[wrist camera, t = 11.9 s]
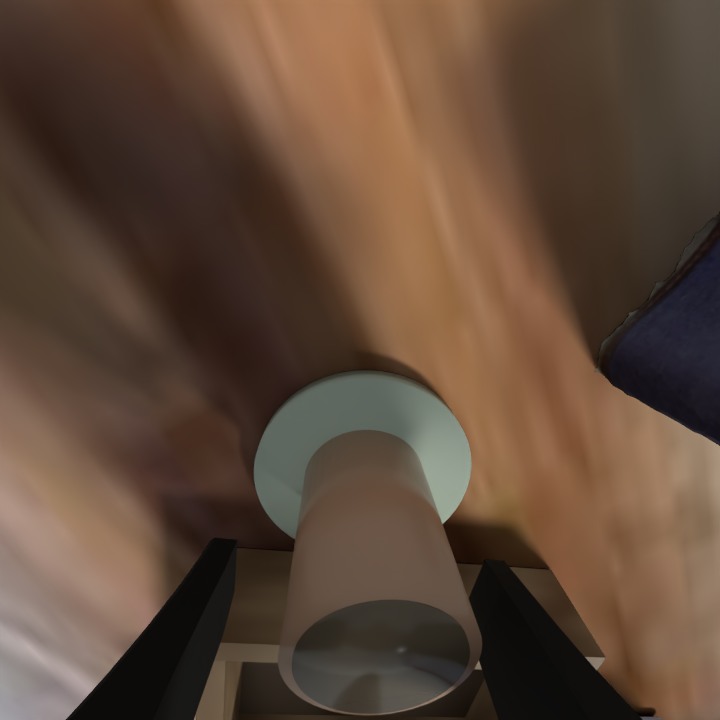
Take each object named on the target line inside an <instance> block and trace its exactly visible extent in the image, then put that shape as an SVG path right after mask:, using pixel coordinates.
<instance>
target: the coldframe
mask: <svg viewBox="0 0 720 720" xmlns="http://www.w3.org/2000/svg"><path fill="white" fill-rule="evenodd" d="M292 558H293V552H289V551H275V550H261V549H246V548H237V557H236V575H235V591H234V595H233V599H232V603H231V607H230V611H229V615H228V618H227V622H226V626H225V630H224V633H223V637H222V640H221V643H220V646H219V649H218V652H217V654H216V657H215V660H214V663H213V666H212V669H211V672H210V675H209V677H208V680H207V683H206V686H205V689H204V692H203V694H202V697H201V700H200V703H199V706H198V709H197V712H196V720H498V717H497V714H496V711H495V708H494V705H493V702H492V699H491V696H490V693H489V690H488V687H487V684H486V681H485V678H484V675H483V672H482V669H481V665H480V662H479V661H478V663H477V665H476V667H475V668H474V670H473V671H472V673H471V674H470V675H469V676H468V677H467V678H466V679H465V681H464V682H463V683H461V684H460V685H459V686H458V687H456V688H455V689H454V690H452V691H451V692H449V693H448V694H446V695H445V696H443V697H441V698H439V699H437V700H435V701H433V702H430V703H428V704H426V705H423V706H420V707H417V708H414V709H410V710H406V711H402V712H397V713H391V714H382V715H352V714H343V713H338V712H333V711H329V710H326V709H322V708H320V707H317V706H315V705H312V704H311V703H309V702H307V701H305V700H303V699H302V698H300V697H299V696H297V695H296V694H295V693H294V692H293V691H292V690H291V689H290V688H289V687H288V686H287V685H286V683H285V682H284V680H283V678H282V676H281V674H280V671H279V667H278V653H279V646H280V640H281V633H282V626H283V619H284V612H285V606H286V599H287V592H288V585H289V578H290V572H291V565H292ZM456 564H457V567H458V570H459V573H460V576H461V579H462V581H463V584H464V587H465V590H466V593H467V596H468V598H469V596H470V594H471V591H472V589H473V586H474V584H475V582H476V579H477V577H478V574H479V572H480V570H481V567H482V565H474V564H460V563H456ZM510 568H511V570H512V571H513V572H514V573H515V574H516V576H517V577H518V578H519V579H520V580H521V582H522V583H523V584H524V585H525V586H526V588H527V589H528V590H529V591H530V593H531V594H532V595H533V596H534V597H535V599H536V600H537V601H538V602H539V603H540V605H541V606H542V607H543V608H544V610H545V611H546V612H547V613H548V614H549V616H550V617H551V618H552V619H553V620H554V622H555V623H556V624H557V625H558V626H559V627H560V629H561V630H562V631H563V632H564V633H565V635H566V636H567V637H568V638H569V639H570V640H571V642H572V643H573V644H574V645H575V646H576V647H577V648H578V650H579V651H580V652H581V653H582V654H583V655H584V656H585V658H586V659H587V660H588V661H589V662H590V663H591V664H592V666H593V667H594V668H595V669H596V670H597V669H598V668H599V667H600V665H601V664H602V662H603V661H604V659H605V658H606V657H605V656H604V654H603V653H602V651H601V649H600V648H599V646H598V644H597V643H596V641H595V640H594V638H593V636H592V635H591V633H590V632H589V630H588V628H587V627H586V625H585V624H584V622H583V620H582V619H581V617H580V615H579V614H578V612H577V611H576V609H575V607H574V606H573V604H572V603H571V601H570V599H569V598H568V596H567V595H566V593H565V591H564V590H563V588H562V587H561V585H560V583H559V582H558V580H557V578H556V577H555V575H554V574H553V572H552V570H546V569H531V568H517V567H510Z"/></svg>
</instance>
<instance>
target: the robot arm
mask: <svg viewBox="0 0 720 720" xmlns="http://www.w3.org/2000/svg"><path fill="white" fill-rule="evenodd" d="M236 557H237V540H234V539H221V538H214V539H212V540H211V541H210V542H209V544H208V545H207V547H206V548H205V550H204V551H203V553H202V554H201V556H200V557H199V559H198V560H197V562H196V563H195V565H194V566H193V567H192V569H191V570H190V572H189V573H188V574H187V576H186V577H185V578H184V580H183V581H182V582H181V584H180V585H179V587H178V588H177V589H176V591H175V592H174V593H173V595H172V596H171V597H170V598H169V600H168V601H167V602H166V603H165V605H164V606H163V607H162V609H161V610H160V611H159V612H158V614H157V615H156V616H155V617H154V619H153V620H152V621H151V623H150V624H149V625H148V626H147V628H146V629H145V630H144V631H143V632H142V634H141V635H140V636H139V637H138V638H137V640H136V641H135V642H134V643H133V644H132V645H131V647H130V648H129V649H128V650H127V651H126V652H125V654H124V655H123V656H122V657H121V658H120V660H119V661H118V662H117V663H116V664H115V665H114V667H113V668H112V669H111V670H110V671H109V673H108V674H107V675H106V676H105V677H104V678H103V679H102V680H101V682H100V683H99V684H98V685H97V686H96V687H95V688H94V689H93V691H92V692H91V693H90V694H89V695H88V696H87V697H86V698H85V699H84V701H83V702H82V703H81V704H80V705H79V706H78V707H77V708H76V709H75V710H74V711H73V712H72V714H71V715H70V716H69V717H68V718H67V719H66V720H194V717H195V714H196V712H197V709H198V706H199V703H200V700H201V697H202V694H203V692H204V689H205V686H206V683H207V680H208V677H209V675H210V672H211V669H212V666H213V663H214V660H215V657H216V654H217V652H218V649H219V646H220V643H221V640H222V637H223V633H224V630H225V626H226V622H227V618H228V615H229V611H230V607H231V603H232V599H233V595H234V591H235V575H236ZM468 599H469V602H470V604H471V607H472V610H473V613H474V616H475V619H476V622H477V624H478V627H479V630H480V633H481V637H482V651H481V655H480V658H479V662H480V665H481V669H482V672H483V675H484V678H485V681H486V684H487V687H488V690H489V693H490V696H491V699H492V702H493V705H494V708H495V711H496V714H497V717H498V720H662V719H661V718H659V717H640V716H639V715H638V714H637V713H636V712H635V711H634V710H633V709H632V708H631V707H630V706H629V705H628V704H627V703H626V702H625V701H624V700H623V698H622V697H621V696H620V695H619V694H618V693H617V692H616V691H615V690H614V689H613V688H612V686H611V685H610V684H609V683H608V682H607V681H606V680H605V679H604V678H603V677H602V676H601V674H600V673H599V672H598V671H597V670H596V669H595V668H594V667H593V666H592V664H591V663H590V662H589V661H588V660H587V659H586V658H585V656H584V655H583V654H582V653H581V652H580V651H579V650H578V648H577V647H576V646H575V645H574V644H573V643H572V642H571V640H570V639H569V638H568V637H567V636H566V635H565V633H564V632H563V631H562V630H561V629H560V627H559V626H558V625H557V624H556V623H555V622H554V620H553V619H552V618H551V617H550V616H549V614H548V613H547V612H546V611H545V610H544V608H543V607H542V606H541V605H540V603H539V602H538V601H537V600H536V599H535V597H534V596H533V595H532V594H531V593H530V591H529V590H528V589H527V588H526V586H525V585H524V584H523V583H522V582H521V580H520V579H519V578H518V577H517V576H516V574H515V573H514V572H513V571H512V570H511V568H510V567H509V566H508V565H507V564H506V563H505V561H500V560H487V559H485V560H484V563H483V565H482V567H481V570H480V572H479V574H478V577H477V579H476V582H475V584H474V586H473V589H472V591H471V594H470V596H469V598H468Z"/></svg>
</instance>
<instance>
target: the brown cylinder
mask: <svg viewBox="0 0 720 720" xmlns="http://www.w3.org/2000/svg"><path fill="white" fill-rule="evenodd" d="M481 651H482V637H481V633H480V630H479V627H478V624H477V622H476V619H475V616H474V613H473V610H472V607H471V604H470V602H469V599H468V596H467V593H466V590H465V587H464V584H463V581H462V579H461V576H460V573H459V570H458V567H457V564H456V561H455V559H454V556H453V553H452V550H451V547H450V544H449V541H448V539H447V536H446V533H445V530H444V527H443V524H442V521H441V519H440V516H439V513H438V510H437V507H436V504H435V501H434V499H433V496H432V493H431V490H430V487H429V484H428V481H427V478H426V476H425V473H424V470H423V467H422V464H421V461H420V459H419V457H418V455H417V453H416V452H415V451H414V449H413V448H412V447H411V446H410V445H409V444H408V443H406V442H405V441H403V440H402V439H400V438H398V437H397V436H395V435H392V434H389V433H386V432H382V431H376V430H356V431H351V432H347V433H344V434H341V435H338V436H336V437H334V438H332V439H330V440H329V441H327V442H326V443H324V444H323V445H322V446H321V447H320V448H319V449H318V450H317V451H316V452H315V453H314V454H313V456H312V457H311V459H310V461H309V462H308V465H307V468H306V471H305V477H304V483H303V490H302V497H301V504H300V510H299V517H298V524H297V531H296V538H295V544H294V551H293V558H292V565H291V572H290V578H289V585H288V592H287V599H286V606H285V612H284V619H283V626H282V633H281V640H280V646H279V653H278V667H279V671H280V674H281V676H282V678H283V680H284V682H285V683H286V685H287V686H288V687H289V688H290V689H291V690H292V691H293V692H294V693H295V694H296V695H297V696H299V697H300V698H302V699H303V700H305V701H307V702H309V703H311V704H312V705H315V706H317V707H320V708H322V709H326V710H329V711H333V712H338V713H343V714H352V715H382V714H391V713H397V712H402V711H406V710H410V709H414V708H417V707H420V706H423V705H426V704H428V703H430V702H433V701H435V700H437V699H439V698H441V697H443V696H445V695H446V694H448V693H449V692H451V691H452V690H454V689H455V688H456V687H458V686H459V685H460V684H461V683H463V682H464V681H465V679H466V678H467V677H468V676H469V675H470V674H471V673H472V671H473V670H474V668H475V667H476V665H477V663H478V661H479V658H480V655H481Z"/></svg>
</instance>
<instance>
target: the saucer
mask: <svg viewBox="0 0 720 720" xmlns="http://www.w3.org/2000/svg"><path fill="white" fill-rule="evenodd" d="M356 430H376V431H382V432H386V433H389V434H392V435H395V436H397V437H398V438H400V439H402V440H403V441H405V442H406V443H408V444H409V445H410V446H411V447H412V448H413V449H414V451H415V452H416V453H417V455H418V457H419V459H420V461H421V464H422V467H423V470H424V473H425V476H426V478H427V481H428V484H429V487H430V490H431V493H432V496H433V499H434V501H435V504H436V507H437V510H438V513H439V516H440V519H441V521H442V524H443V523H444V522H445V521H446V520H447V519H448V518H449V517H450V516H451V515H452V514H453V512H454V511H455V510H456V509H457V507H458V505H459V504H460V502H461V500H462V499H463V497H464V494H465V492H466V490H467V487H468V483H469V480H470V474H471V453H470V448H469V443H468V441H467V438H466V435H465V433H464V431H463V429H462V427H461V426H460V424H459V422H458V421H457V419H456V417H455V416H454V414H453V413H452V411H451V409H450V408H449V407H448V406H447V405H446V403H445V402H444V401H443V400H442V399H441V398H440V397H439V396H438V395H436V394H435V393H434V392H433V391H432V390H430V389H429V388H427V387H426V386H424V385H423V384H421V383H419V382H416V381H414V380H412V379H410V378H407V377H404V376H401V375H398V374H395V373H389V372H384V371H374V370H357V371H348V372H342V373H337V374H333V375H330V376H327V377H323V378H321V379H319V380H317V381H314V382H312V383H310V384H308V385H306V386H305V387H303V388H301V389H300V390H298V391H297V392H295V393H294V394H293V395H292V396H290V397H289V398H288V399H287V400H286V401H285V402H284V403H283V404H282V405H281V406H280V407H279V408H278V409H277V410H276V412H275V413H274V415H273V416H272V417H271V419H270V421H269V423H268V425H267V426H266V428H265V430H264V433H263V436H262V438H261V441H260V443H259V447H258V450H257V453H256V456H255V463H254V482H255V487H256V492H257V495H258V497H259V500H260V503H261V504H262V506H263V508H264V510H265V512H266V513H267V514H268V516H269V517H270V518H271V520H272V521H273V522H274V523H275V524H276V525H277V526H278V527H279V528H280V529H281V530H282V531H284V532H285V533H286V534H287V535H289V536H290V537H292V538H293V539H295V538H296V531H297V524H298V517H299V510H300V504H301V497H302V490H303V483H304V477H305V471H306V468H307V465H308V462H309V461H310V459H311V457H312V456H313V454H314V453H315V452H316V451H317V450H318V449H319V448H320V447H321V446H322V445H323V444H324V443H326V442H327V441H329V440H330V439H332V438H334V437H336V436H338V435H341V434H344V433H347V432H351V431H356Z"/></svg>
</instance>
